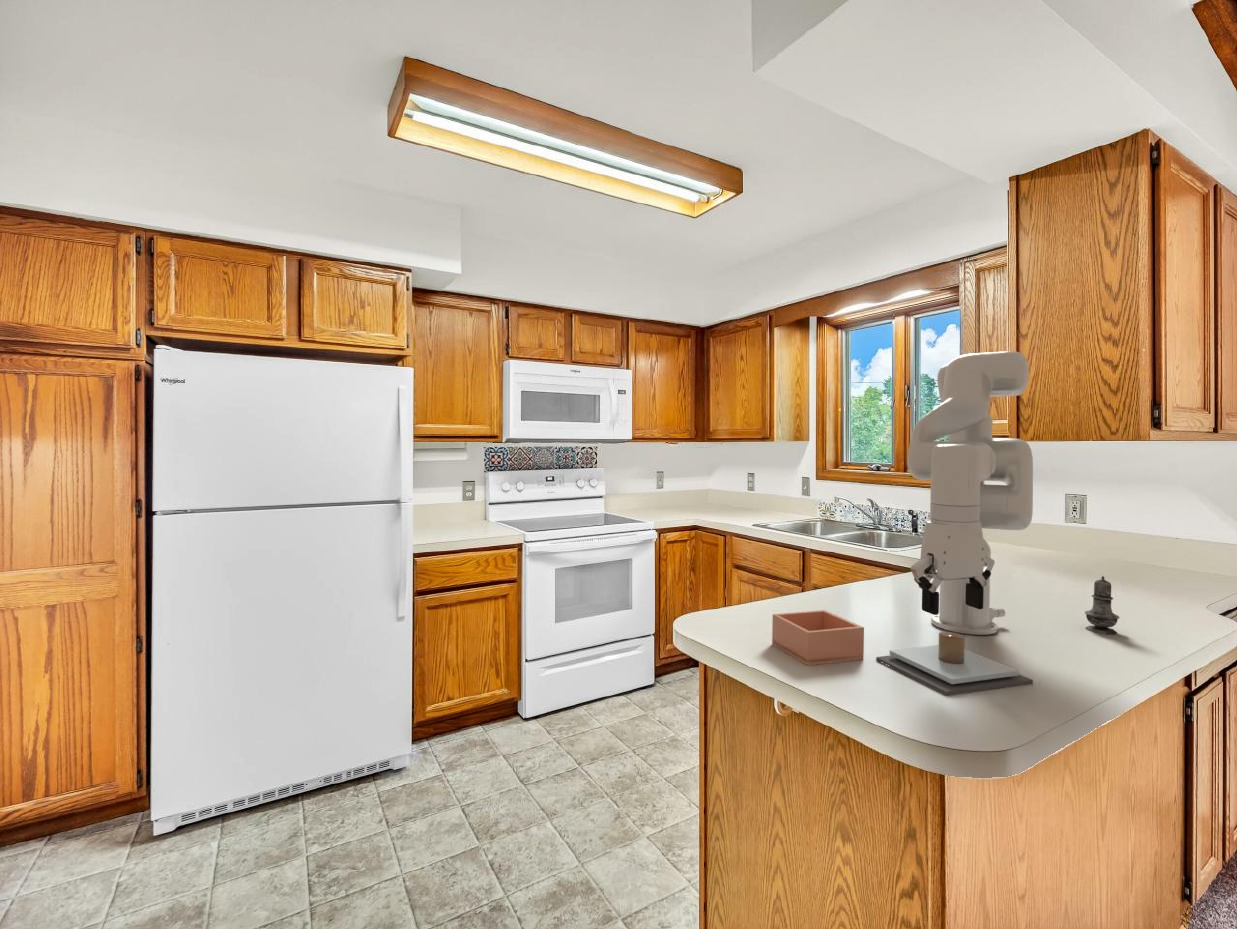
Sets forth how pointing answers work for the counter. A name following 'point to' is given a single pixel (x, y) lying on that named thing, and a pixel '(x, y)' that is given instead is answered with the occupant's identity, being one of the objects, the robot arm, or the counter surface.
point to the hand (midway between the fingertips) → (952, 609)
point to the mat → (947, 687)
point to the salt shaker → (1102, 609)
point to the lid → (953, 661)
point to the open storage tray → (818, 637)
